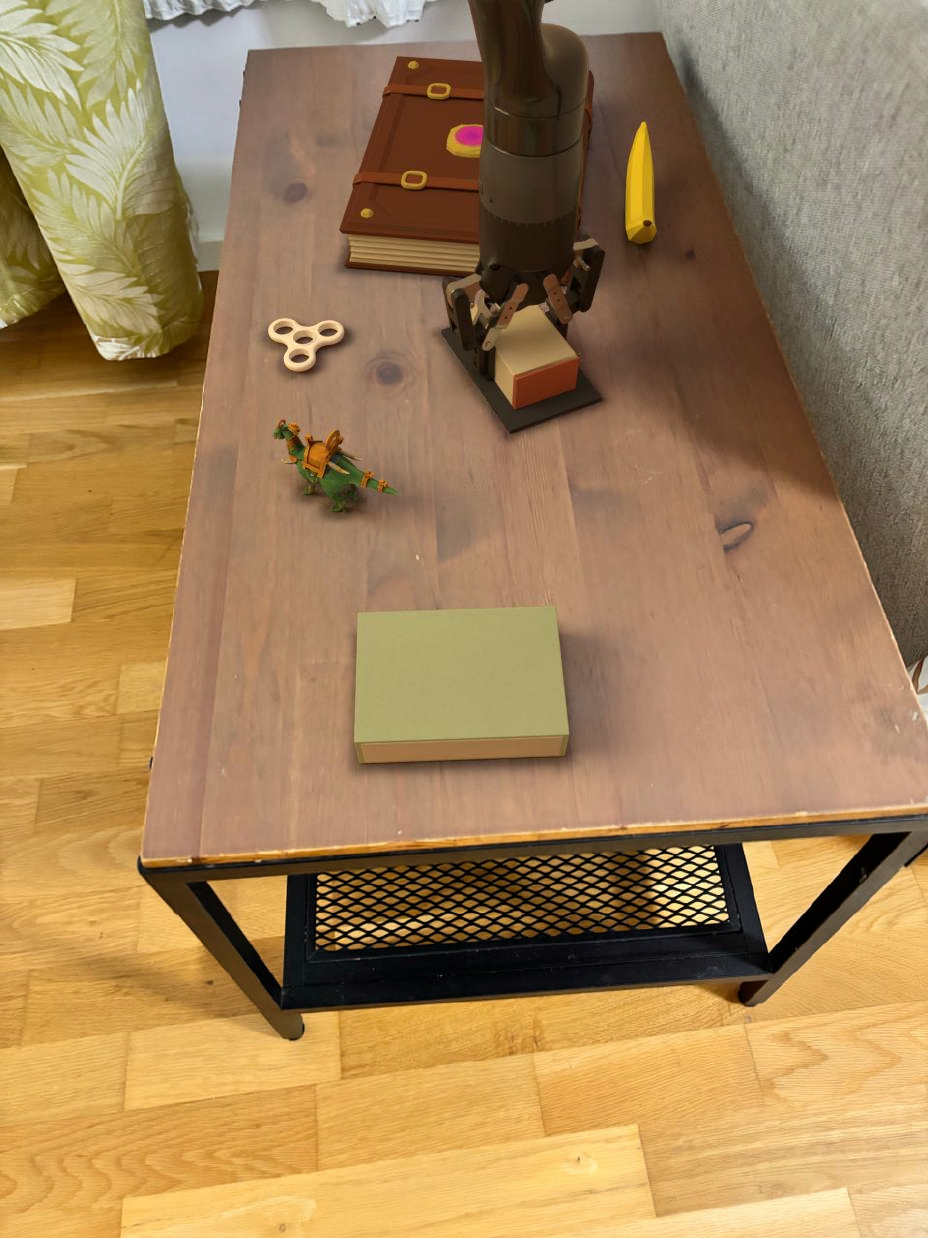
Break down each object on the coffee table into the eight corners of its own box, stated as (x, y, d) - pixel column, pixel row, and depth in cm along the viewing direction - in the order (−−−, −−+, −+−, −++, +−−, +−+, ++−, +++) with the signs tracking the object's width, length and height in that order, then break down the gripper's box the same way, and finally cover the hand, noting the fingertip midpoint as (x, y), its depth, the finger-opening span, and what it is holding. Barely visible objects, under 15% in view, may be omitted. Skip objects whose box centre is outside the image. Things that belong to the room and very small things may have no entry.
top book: (575, 388, 81) (579, 357, 78) (514, 410, 79) (516, 379, 76) (522, 318, 86) (524, 287, 83) (464, 338, 84) (464, 307, 81)
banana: (650, 166, 99) (660, 107, 94) (652, 281, 89) (664, 223, 84) (623, 165, 99) (632, 106, 94) (622, 280, 89) (632, 221, 84)
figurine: (295, 459, 77) (277, 386, 70) (412, 520, 74) (407, 449, 67) (271, 482, 76) (251, 411, 69) (390, 546, 72) (382, 477, 65)
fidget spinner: (346, 325, 86) (345, 319, 85) (336, 374, 82) (335, 368, 82) (272, 322, 86) (270, 315, 85) (259, 371, 83) (257, 364, 82)
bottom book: (552, 631, 68) (555, 605, 65) (565, 757, 63) (569, 735, 60) (362, 637, 68) (357, 612, 65) (359, 764, 62) (353, 743, 60)
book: (342, 267, 90) (335, 222, 86) (397, 94, 107) (394, 48, 103) (573, 287, 89) (578, 241, 84) (593, 107, 105) (598, 61, 101)
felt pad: (601, 400, 81) (602, 397, 80) (510, 433, 79) (510, 430, 78) (527, 304, 87) (527, 301, 87) (441, 333, 85) (441, 329, 85)
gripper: (463, 243, 65) (464, 415, 79) (639, 190, 68) (609, 364, 82) (420, 186, 68) (428, 360, 83) (588, 138, 72) (569, 313, 86)
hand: (519, 361), depth 82 cm, fingers closed on top book, 6 cm apart
